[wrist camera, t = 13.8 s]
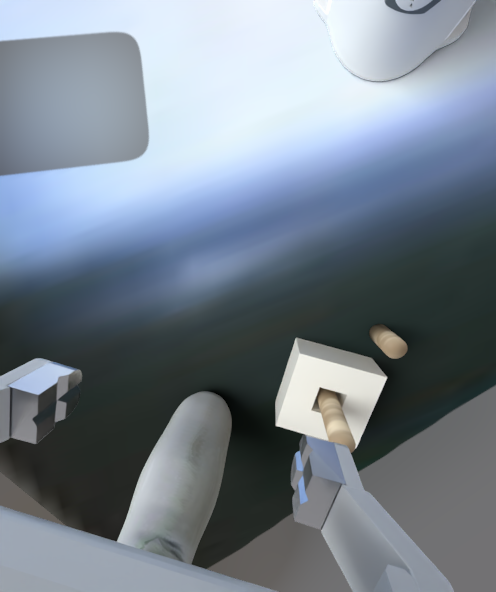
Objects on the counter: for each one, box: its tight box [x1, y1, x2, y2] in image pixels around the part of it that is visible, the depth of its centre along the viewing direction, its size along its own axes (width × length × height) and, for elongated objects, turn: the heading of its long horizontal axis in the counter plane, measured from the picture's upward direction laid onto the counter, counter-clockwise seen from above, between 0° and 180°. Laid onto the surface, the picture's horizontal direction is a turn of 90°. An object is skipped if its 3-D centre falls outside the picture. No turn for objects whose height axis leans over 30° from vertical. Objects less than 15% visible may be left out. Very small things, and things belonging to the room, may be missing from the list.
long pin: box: [317, 387, 356, 453], centre depth 37 cm, size 3×3×14 cm
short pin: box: [369, 324, 407, 359], centre depth 38 cm, size 3×3×6 cm
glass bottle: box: [117, 391, 232, 565], centre depth 34 cm, size 10×10×28 cm
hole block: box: [275, 338, 387, 448], centre depth 41 cm, size 13×13×6 cm
